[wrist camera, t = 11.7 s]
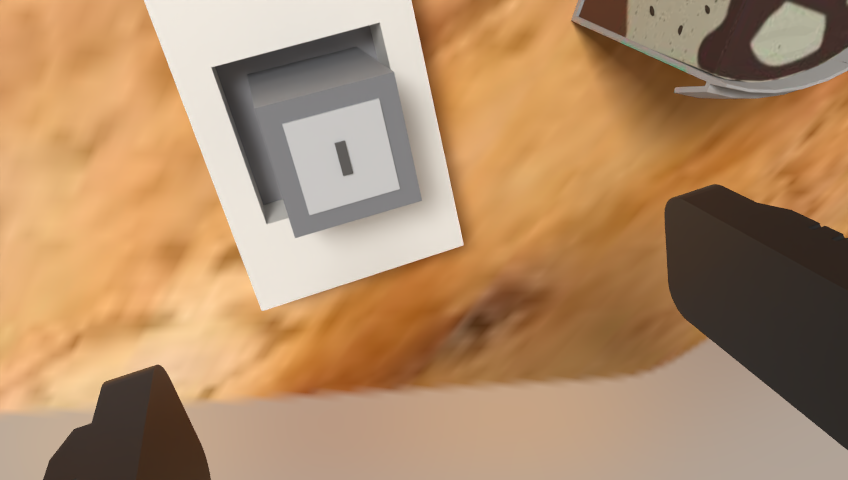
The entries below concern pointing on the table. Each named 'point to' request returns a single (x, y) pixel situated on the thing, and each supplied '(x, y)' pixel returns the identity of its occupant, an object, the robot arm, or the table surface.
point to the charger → (335, 138)
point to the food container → (731, 40)
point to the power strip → (247, 153)
